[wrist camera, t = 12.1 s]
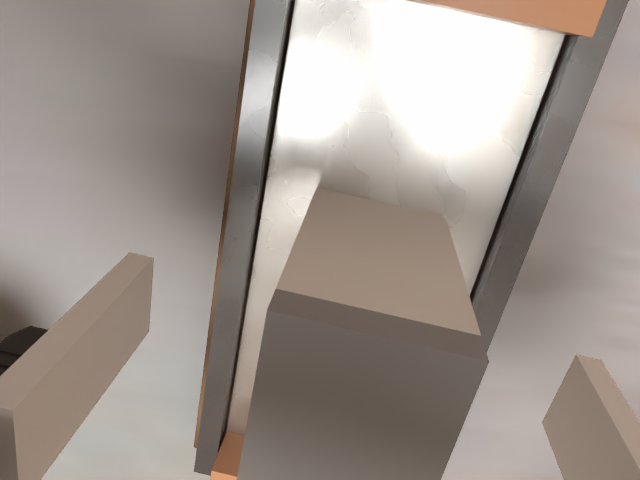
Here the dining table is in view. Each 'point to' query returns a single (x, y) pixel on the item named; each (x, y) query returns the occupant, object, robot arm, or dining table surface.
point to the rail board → (390, 149)
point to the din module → (364, 349)
